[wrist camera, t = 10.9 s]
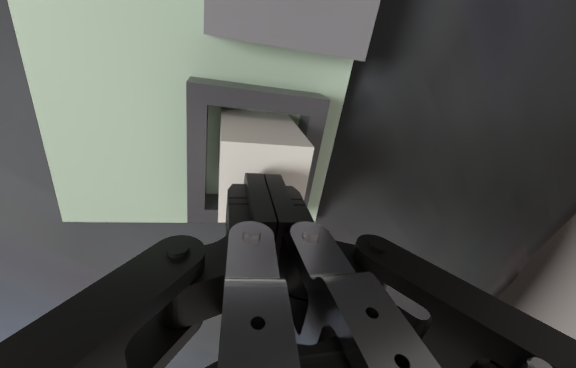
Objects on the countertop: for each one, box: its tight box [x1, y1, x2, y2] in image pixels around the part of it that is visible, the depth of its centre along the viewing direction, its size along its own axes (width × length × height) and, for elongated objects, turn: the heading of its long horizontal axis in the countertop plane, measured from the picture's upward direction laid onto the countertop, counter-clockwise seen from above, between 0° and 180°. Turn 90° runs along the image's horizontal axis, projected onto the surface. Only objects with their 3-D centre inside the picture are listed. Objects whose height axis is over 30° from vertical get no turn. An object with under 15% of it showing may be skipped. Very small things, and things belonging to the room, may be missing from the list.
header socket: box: [186, 76, 331, 223], centre depth 17 cm, size 8×8×2 cm
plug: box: [218, 107, 314, 223], centre depth 15 cm, size 5×4×6 cm
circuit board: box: [8, 0, 381, 223], centre depth 14 cm, size 20×17×4 cm
